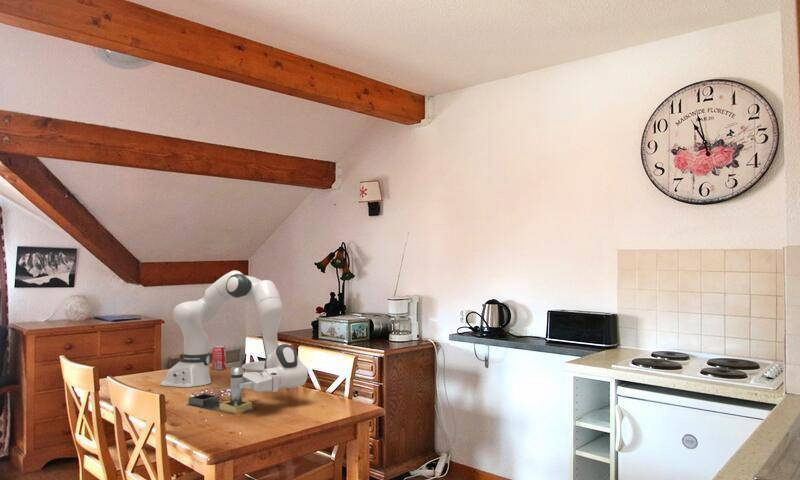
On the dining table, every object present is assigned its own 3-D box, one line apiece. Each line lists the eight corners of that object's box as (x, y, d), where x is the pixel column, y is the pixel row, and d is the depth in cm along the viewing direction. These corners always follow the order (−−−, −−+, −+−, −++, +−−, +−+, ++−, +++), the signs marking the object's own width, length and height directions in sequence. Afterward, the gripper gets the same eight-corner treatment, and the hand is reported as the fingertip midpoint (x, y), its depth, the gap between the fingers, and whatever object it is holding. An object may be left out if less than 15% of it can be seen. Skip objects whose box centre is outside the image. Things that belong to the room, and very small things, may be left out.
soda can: (221, 367, 307) (222, 344, 307) (228, 369, 302) (228, 346, 302) (209, 368, 302) (209, 346, 302) (215, 370, 297) (216, 347, 297)
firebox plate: (185, 407, 226) (185, 398, 226) (207, 401, 236) (207, 392, 236) (232, 417, 213) (232, 407, 213) (254, 410, 222) (254, 401, 222)
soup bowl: (290, 383, 270) (290, 369, 270) (238, 384, 266) (238, 370, 266) (292, 373, 294) (292, 360, 294) (244, 374, 290) (244, 361, 290)
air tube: (228, 411, 217) (229, 369, 218) (230, 408, 222) (232, 366, 222) (240, 411, 218) (242, 369, 218) (242, 407, 222) (244, 366, 223)
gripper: (260, 367, 236) (227, 370, 228) (279, 376, 219) (244, 380, 212) (259, 382, 236) (226, 386, 228) (278, 392, 219) (243, 397, 211)
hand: (235, 383), depth 220 cm, fingers open, 8 cm apart
